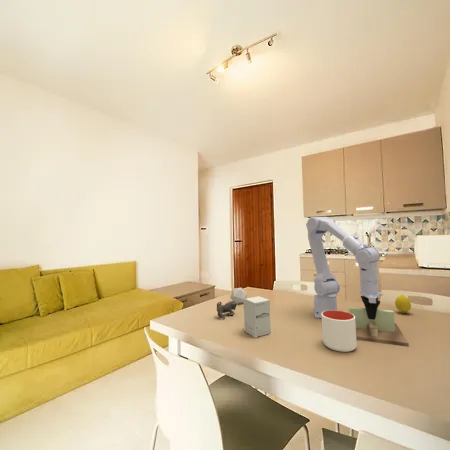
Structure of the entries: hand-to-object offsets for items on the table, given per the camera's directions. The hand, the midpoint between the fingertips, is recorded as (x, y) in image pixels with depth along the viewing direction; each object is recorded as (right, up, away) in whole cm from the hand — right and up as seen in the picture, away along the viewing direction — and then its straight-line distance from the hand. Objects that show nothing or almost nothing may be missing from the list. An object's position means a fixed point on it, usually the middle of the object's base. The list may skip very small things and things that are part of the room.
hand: (371, 317), depth 88 cm
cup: (-17, -6, -10) cm, 20 cm away
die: (-46, -9, +42) cm, 63 cm away
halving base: (0, -5, 0) cm, 5 cm away
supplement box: (-41, -7, +3) cm, 42 cm away
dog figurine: (-52, -8, +22) cm, 58 cm away
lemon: (+25, -5, +17) cm, 30 cm away
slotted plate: (0, -4, 0) cm, 4 cm away
